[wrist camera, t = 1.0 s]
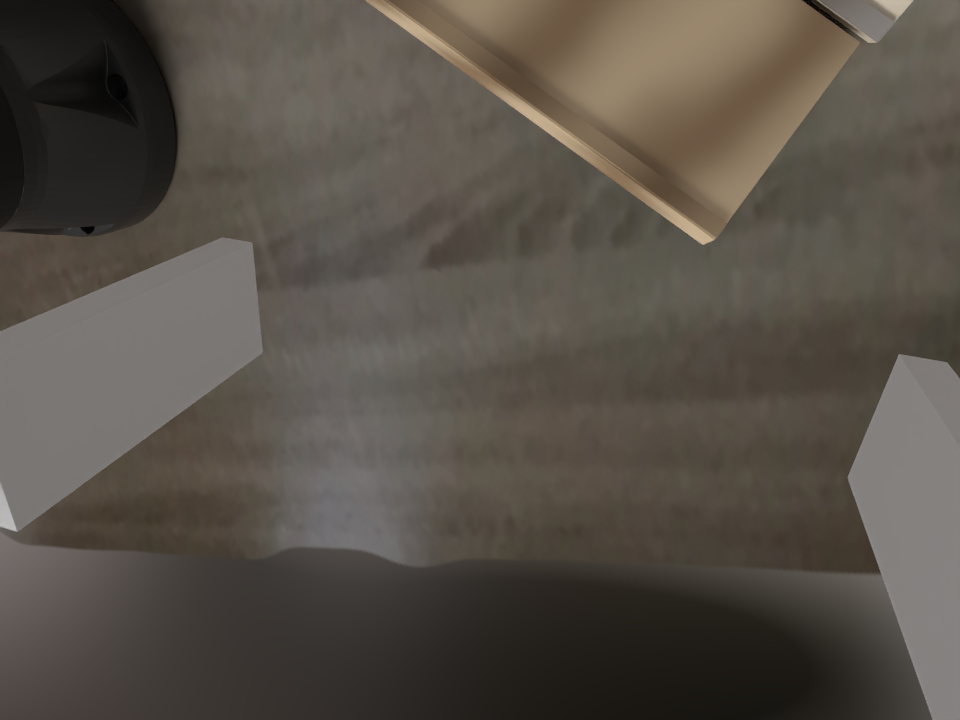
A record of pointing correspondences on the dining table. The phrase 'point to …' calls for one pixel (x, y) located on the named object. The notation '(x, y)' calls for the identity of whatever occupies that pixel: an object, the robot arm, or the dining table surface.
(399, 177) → the dining table surface
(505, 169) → the dining table surface
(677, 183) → the plank
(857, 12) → the laid board
